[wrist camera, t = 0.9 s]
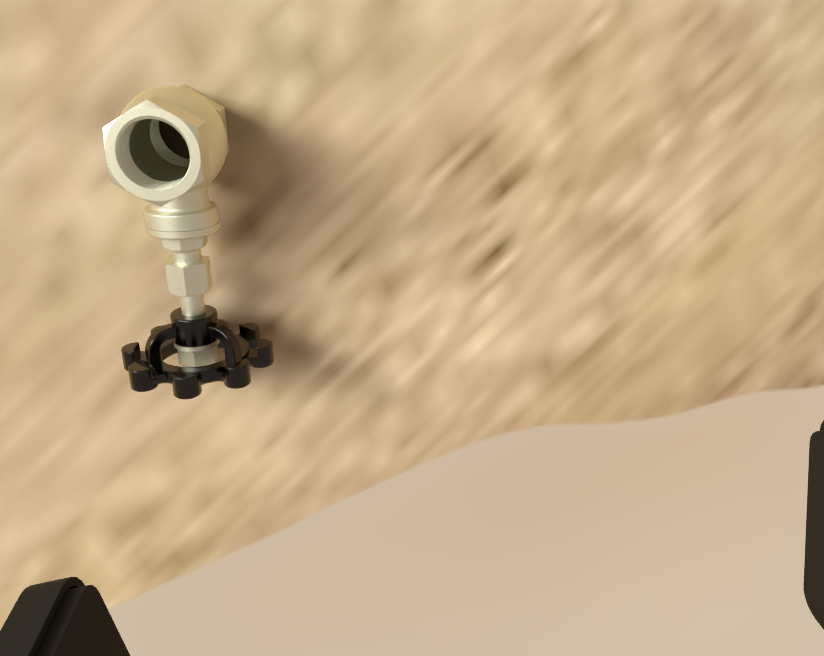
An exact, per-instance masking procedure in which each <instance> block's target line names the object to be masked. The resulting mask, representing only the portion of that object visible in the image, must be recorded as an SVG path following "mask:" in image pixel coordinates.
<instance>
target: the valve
mask: <svg viewBox="0 0 824 656" xmlns="http://www.w3.org/2000/svg"><path fill="white" fill-rule="evenodd" d="M159 121H163V122H165V123H167V124H169V125H171V126H172V127H174V128H175V129H176V130H177V131H178V132H179V133H180V134H181V135H182V136H183V138H184V140H185V141H186V144H187V146H188V149H189V154H190V159H188V158H183V157H180V156H178V155H176V154H174V153H173V152H172V151H171V150H170V149H169V148H168V147H167V146H166V145H165V143H164V142H163V140H162V138H161V135H160V132H159ZM103 139H104V148H105V155H106V161H107V166H108V171H109V176H110V180H111V182H112V183H114V184H116V185H117V186H119V187H121V188H122V189H124V190H126V191H128V192H130V193H132V194H134V195H135V196H138V197H140V198H142V199H144V200H146V201H148V202H150V203H151V204H150V205H148V206H146V207H145V208H144V210H143V212H144V220H145V227H146V233H147V234H148V235H149V236H151V237H154V238H159V239H162V245H163V248H165V249H168V250H171V251H172V256H173V257H170V258H169V260H168V261H167V262H166V264H165V268H166V275H167V283H168V290H169V293H171V294H173V295H177V296H180V303H181V307H180V308H178V309H176V310H174V311H173V312H172V313H171V315H170V318H171V324H168V325H163V326H158V327H155V328H153V329H152V330H151V335H150V337H149V338H148V340H147V343H146V347H145V352H144V351H140V347H139V343H138V342H135V343H130V344H127V345H125V346H123V347H122V349H121V351H122V357H123V364H124V368H125V370H127V371H128V372H129V378H130V384H131V388H132V389H133V390H134V391H137V392H145V391H150V390H153V389H155V388H156V387H157V386H158V384H161V383H170V384H172V385H173V392H174V396H175V397H177V398H179V399H191V398H195V397H197V396H198V395H200V394H201V392H202V388H201V385H203V384H206V383H211V382H216V381H222V382H224V384H225V386H227V387H229V388H233V389H237V388H243V387H246V386H247V385H249V384H250V382H251V375H250V366H252V367H255V368H264V367H268V366H270V365H272V364H273V362H274V356H273V343H272V341H270V340H268V339H260V332H259V326H258V325H257V324H254V323H244V324H240V325H239V327H240V334H238V335H236V334H234V333H233V332H232V331H231V330H230V329H229V328H228V327H227V326H225V325H223V324H220V320H219V319H218V315H217V310H216V309H215V308H214V307H212V306H209V305H205V304H204V295H203V294H204V293H206V292H208V291H210V289H211V286H212V279H211V269H210V260H209V257H207V256H201V250H200V248H202V247H204V246H205V245H206V243H207V235H211V234H213V233H215V232H217V231H218V230H219V229H220V219H219V209H218V205H217V204H216V203H215V202H212V201H209V192H208V185H209V183H210V182H211V181H212V180H213V179H214V178H215V177H216V176H217V174H218V173H219V171H220V170H221V168H222V166H223V164H224V161H225V158H226V155H227V154H228V153H229V145H228V134H227V123H226V112H225V107H223V106H222V105H220V104H218V103H216V102H214V101H213V100H211V99H209V98H207V97H205V96H204V95H202V94H200V93H198V92H196V91H195V90H193V89H191V88H189V87H187V86H185V85H181V86H179V87H176V86H160V87H154V88H151V89H148V90H146V91H144V92H142V93H140V94H138V95H137V96H136V97H135V98H133V99H132V100H131V101H130V102H129V103H128V105H127V106H126V107H125V108H124V110H123V112H122V114H121V116H120V117H118V118H116V119H115V120H113V121H112V122H110V123H109V124H107V125H106V126H104V127H103ZM218 348H224V350H225V360H222V361H220V362H217V363H215V362H216V361H217V358H218V354H219V353H218ZM175 353H178V357H179V364H181V365H183V366H186V367H178V366H173V365H169V364H166V363H165V362H163V361H164V360H165V359H166V358H167V357H169V356H171V355H173V354H175ZM213 363H214V364H213Z"/></svg>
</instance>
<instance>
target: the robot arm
mask: <svg viewBox="0 0 824 656" xmlns="http://www.w3.org/2000/svg"><path fill="white" fill-rule="evenodd" d="M804 594H805V598H806V601H807V604H808V607H809V608H810V610H811V612H812V614H813V616H814V617H815V619H816V620H817V621H818V623H819V624H820V625H821V627H822V628H823V629H824V421H823V423H822V424H821V428H820V431H817V432H815V433H813V434H812V436H811V438H810V448H809V472H808V496H807V519H806V544H805V568H804ZM0 656H130V654H129V652H128V650H127V648H126V646H125V644H124V642H123V640H122V638H121V636H120V634H119V632H118V630H117V628H116V626H115V624H114V622H113V620H112V617H111V615H110V614H109V611H108V609H107V607H106V605H105V603H104V601H103V599H102V597H101V595H100V593H99V591H98V590H97V588H96V587H94V586H93V585H87V586H85V585H84V583H83V582H82V581H81V580H80V579H78V578H77V577H69V578H64V579H59V580H55V581H50V582H45V583H40V584H36V585H31V586H29V587H27V588H26V589H25V590H24V591H23V592H22V593H21V595H20V596H19V598H18V600H17V602H16V604H15V605H14V607H13V609H12V611H11V613H10V614H9V616H8V618H7V620H6V622H5V623H4V625H3V627H2V629H1V631H0Z"/></svg>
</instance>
